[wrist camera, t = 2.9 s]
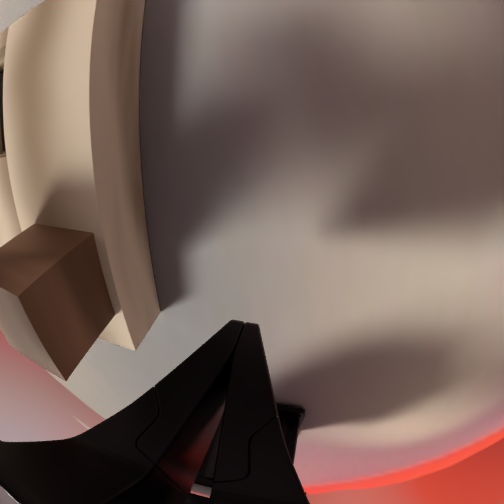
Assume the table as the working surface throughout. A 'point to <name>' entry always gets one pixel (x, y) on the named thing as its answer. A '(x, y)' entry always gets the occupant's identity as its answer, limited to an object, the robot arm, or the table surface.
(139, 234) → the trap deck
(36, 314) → the walnut block
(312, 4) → the table surface
